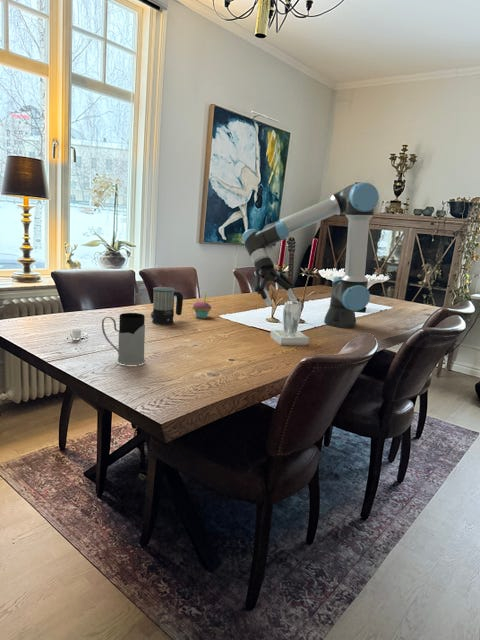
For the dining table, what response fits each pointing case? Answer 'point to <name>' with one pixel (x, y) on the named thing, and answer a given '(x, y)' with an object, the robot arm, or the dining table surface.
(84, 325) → the dining table surface
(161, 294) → the milk frother
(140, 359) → the glass holder
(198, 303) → the cupcake
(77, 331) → the teacup and saucer
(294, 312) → the beer glass
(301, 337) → the cup holder
